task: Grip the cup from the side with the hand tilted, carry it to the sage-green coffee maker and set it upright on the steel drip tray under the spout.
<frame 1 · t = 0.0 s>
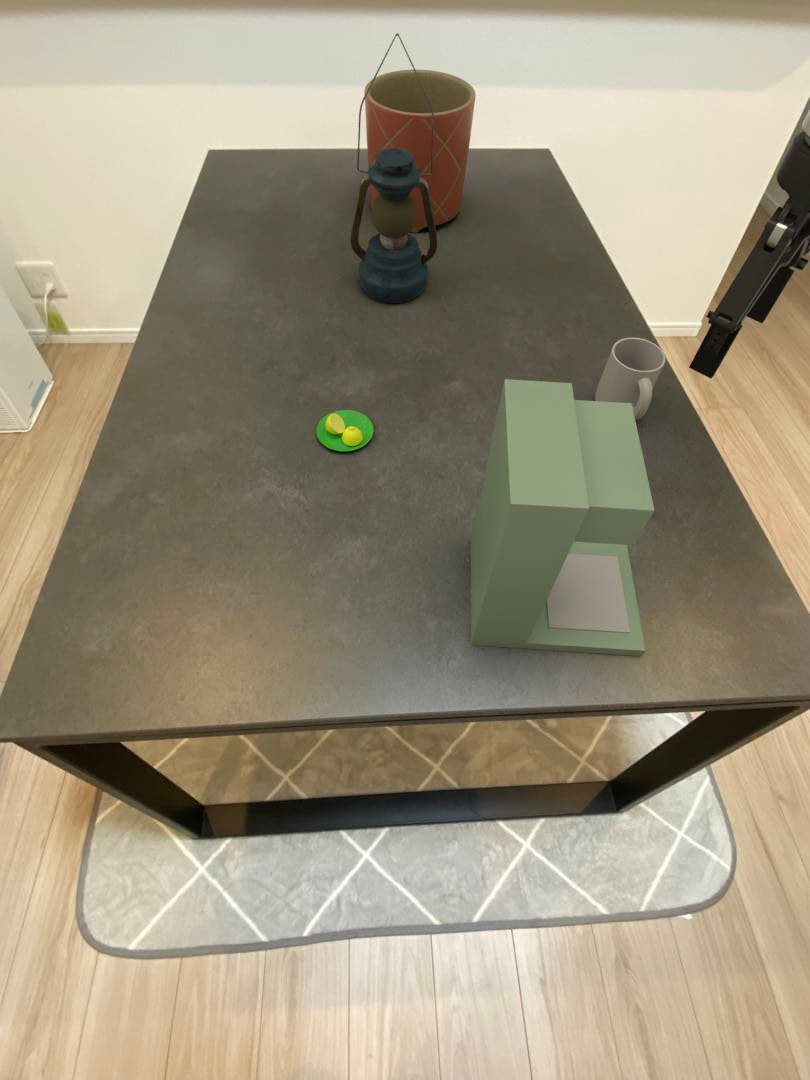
hand: (727, 343, 70), 18 cm above the table, tool pointing down, fingers open, 13 cm apart
planter: (415, 210, 119), on the table
lantern: (393, 286, 105), on the table
coffee maker: (551, 595, 71), on the table
cup: (620, 410, 89), on the table
plate with lemons: (345, 434, 85), on the table
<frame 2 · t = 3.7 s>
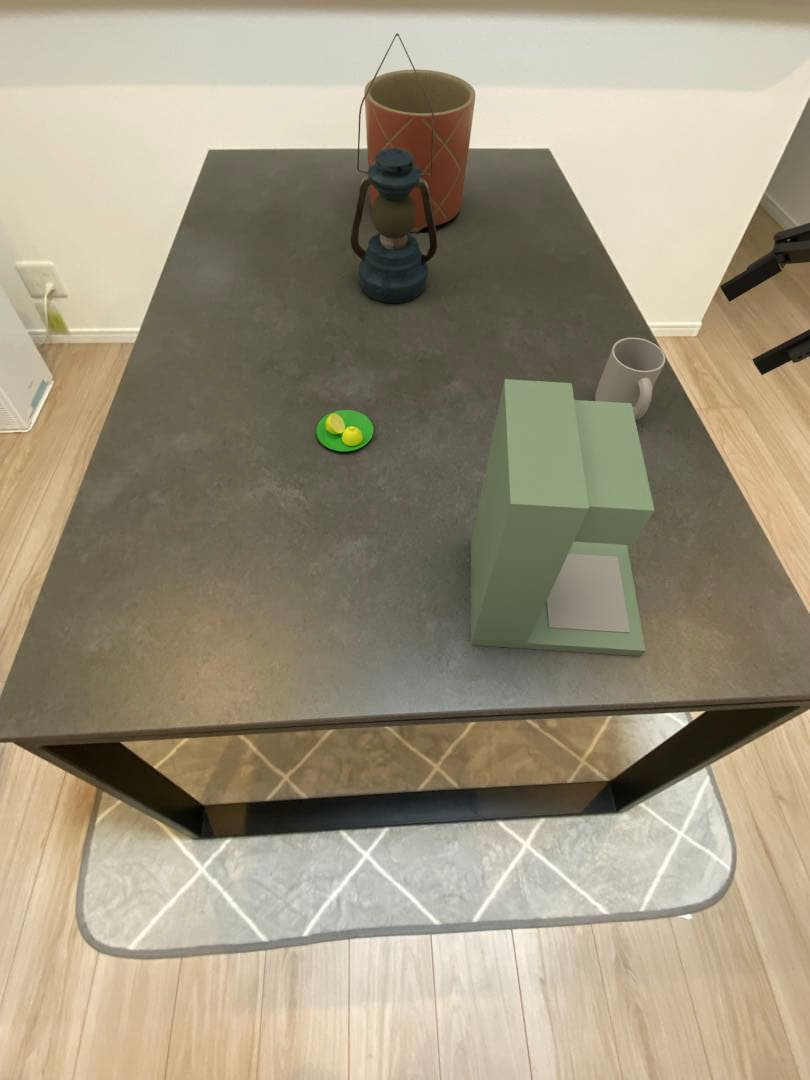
hand: (739, 329, 76), 15 cm above the table, tool tilted 45°, fingers open, 13 cm apart
nothing on the table moved.
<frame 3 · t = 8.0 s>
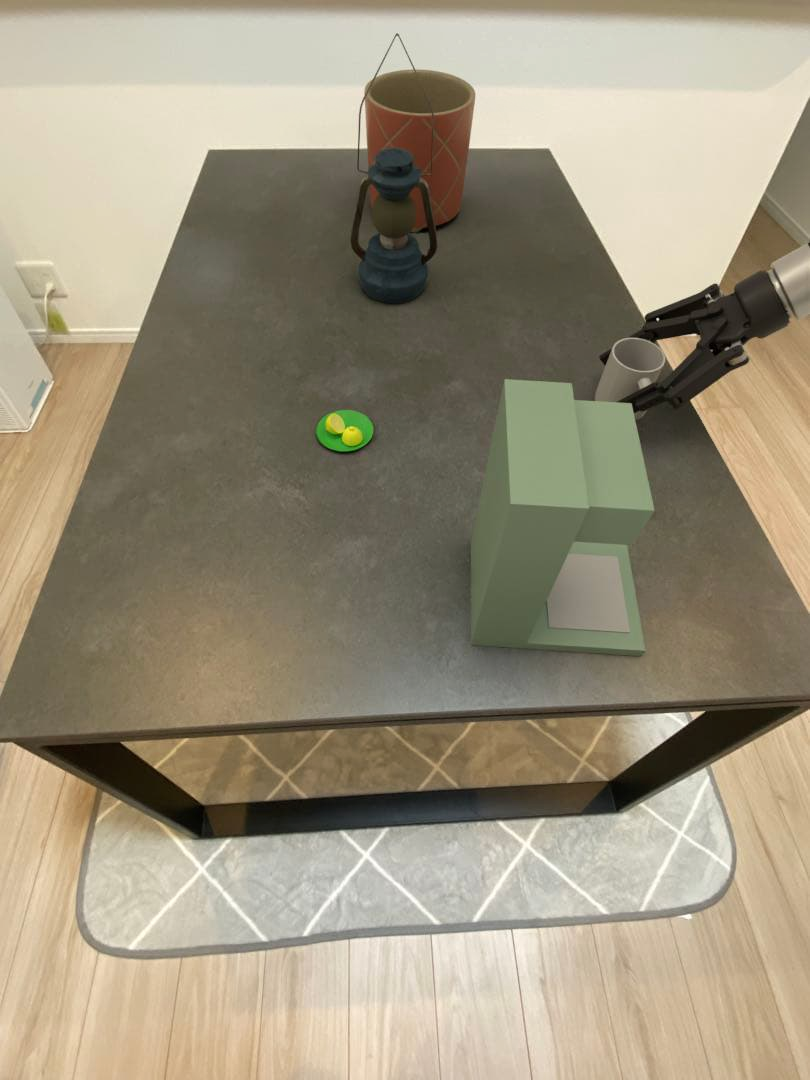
hand: (608, 387, 85), 4 cm above the table, tool tilted 45°, fingers closed on cup, 10 cm apart
cup: (620, 410, 89), on the table, touching gripper
everything else where it was.
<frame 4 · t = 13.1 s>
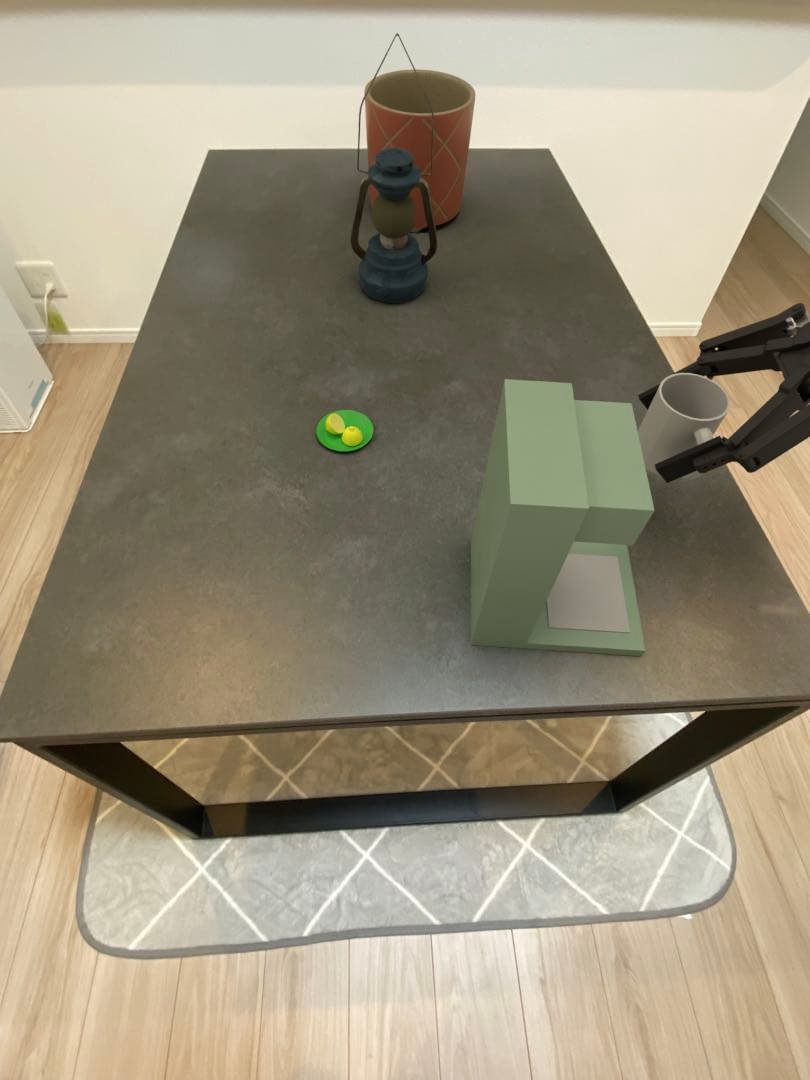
hand: (652, 437, 65), 15 cm above the table, tool tilted 45°, fingers closed on cup, 10 cm apart
cup: (665, 465, 69), point 11 cm above the table, touching gripper
everything else where it was.
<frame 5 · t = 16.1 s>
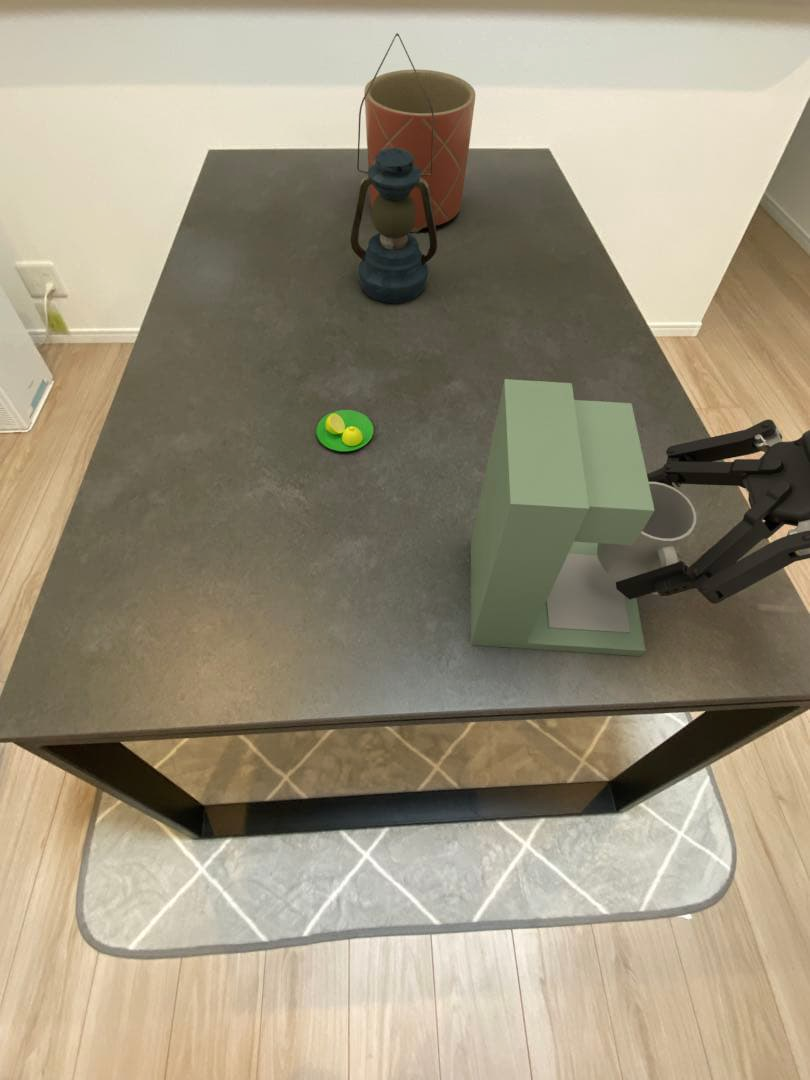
hand: (615, 546, 62), 11 cm above the table, tool tilted 45°, fingers closed on cup, 10 cm apart
cup: (632, 569, 66), point 6 cm above the table, touching gripper
everything else where it was.
when the fingers open (6 cm above the table, at t = 18.4 s): cup stays where it is, resting on coffee maker.
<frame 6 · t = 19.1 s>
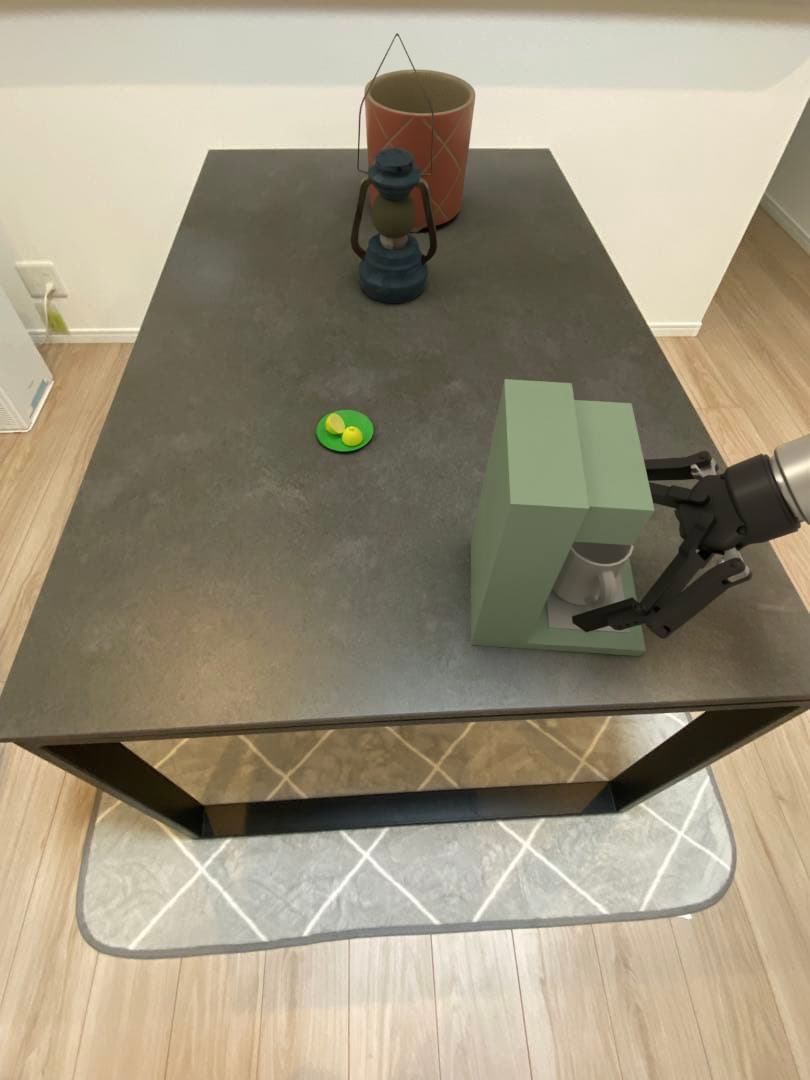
hand: (572, 568, 65), 7 cm above the table, tool tilted 45°, fingers open, 13 cm apart
cup: (579, 590, 70), point 2 cm above the table, touching coffee maker
everything else where it was.
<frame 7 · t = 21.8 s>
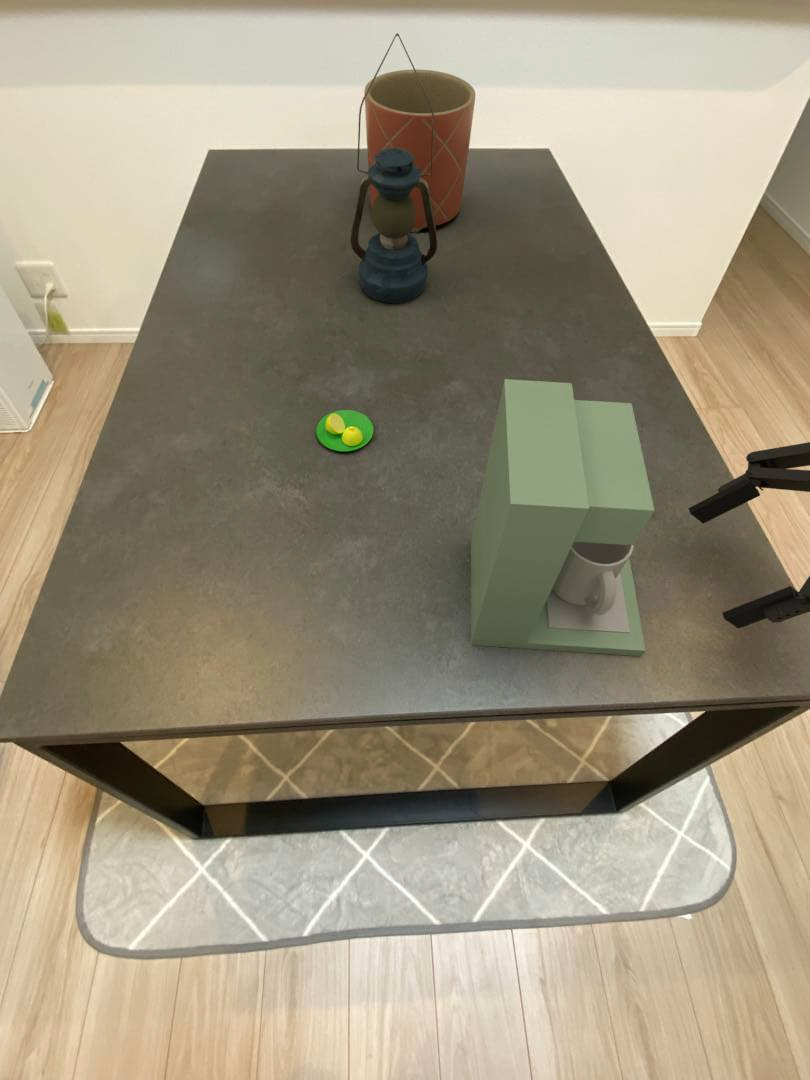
hand: (711, 565, 64), 8 cm above the table, tool tilted 40°, fingers open, 13 cm apart
nothing on the table moved.
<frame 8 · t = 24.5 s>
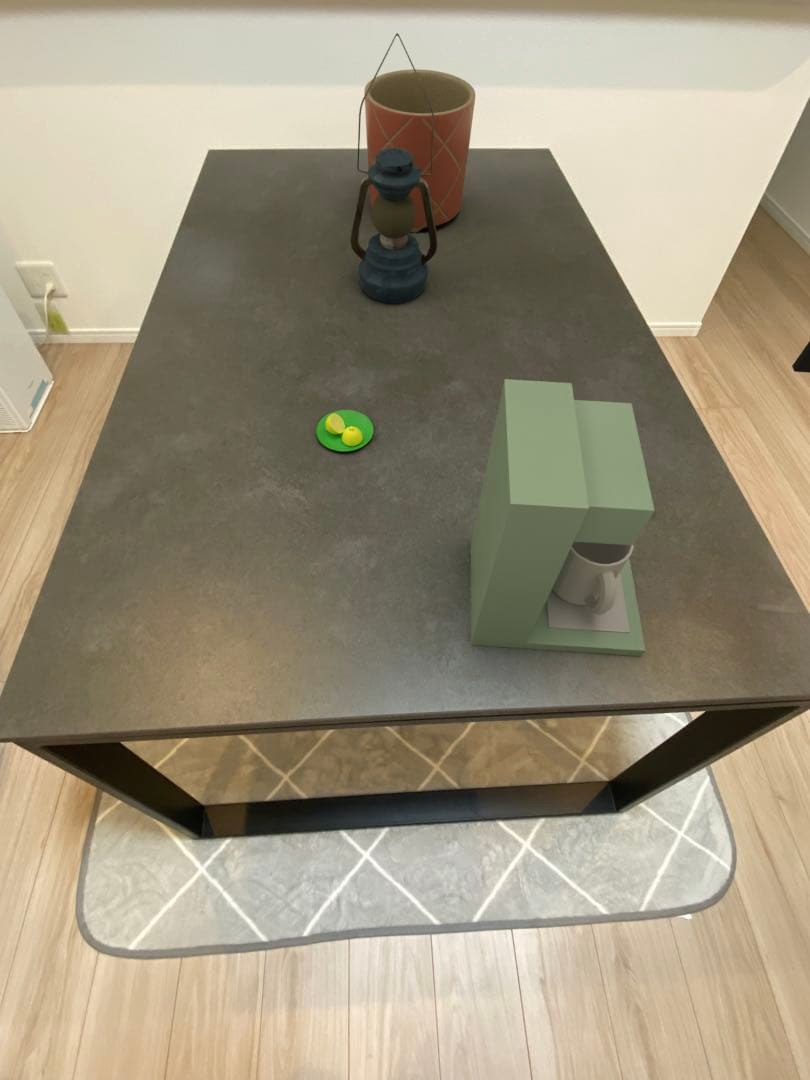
nothing on the table moved.
at the end: cup inside the target area on the coffee maker (0.0 cm from its centre), point 1.5 cm above the coffee maker's base; cup tilted 0°; the gripper is holding nothing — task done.
